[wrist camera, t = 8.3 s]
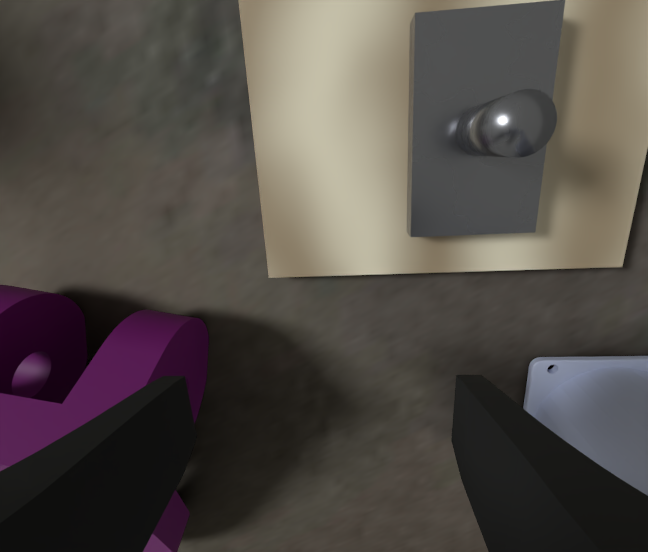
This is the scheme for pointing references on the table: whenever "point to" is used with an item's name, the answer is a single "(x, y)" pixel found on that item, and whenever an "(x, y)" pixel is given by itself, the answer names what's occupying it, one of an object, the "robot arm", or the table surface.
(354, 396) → the table surface
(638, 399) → the robot arm
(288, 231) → the board
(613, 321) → the table surface
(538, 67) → the peg base
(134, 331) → the mounting bracket
